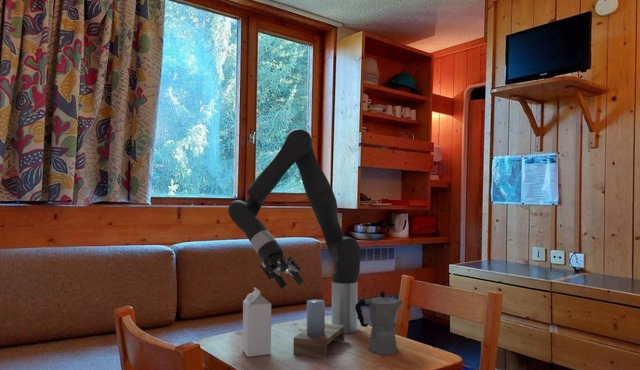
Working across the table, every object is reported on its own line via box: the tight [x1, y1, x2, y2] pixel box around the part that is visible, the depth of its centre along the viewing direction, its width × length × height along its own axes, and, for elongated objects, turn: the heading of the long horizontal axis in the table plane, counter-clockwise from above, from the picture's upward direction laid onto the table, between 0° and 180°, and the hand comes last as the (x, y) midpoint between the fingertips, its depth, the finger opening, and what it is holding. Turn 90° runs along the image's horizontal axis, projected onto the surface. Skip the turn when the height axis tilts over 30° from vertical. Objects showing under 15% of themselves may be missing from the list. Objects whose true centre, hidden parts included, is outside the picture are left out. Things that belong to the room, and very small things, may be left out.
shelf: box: [292, 323, 346, 360], centre depth 144 cm, size 19×10×5 cm, turn 159°
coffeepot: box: [355, 290, 404, 355], centre depth 142 cm, size 15×9×18 cm, turn 101°
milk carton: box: [242, 287, 272, 358], centre depth 139 cm, size 7×7×19 cm
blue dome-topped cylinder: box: [306, 299, 326, 337], centre depth 141 cm, size 6×6×10 cm
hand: (293, 285), depth 146 cm, fingers open, 8 cm apart
